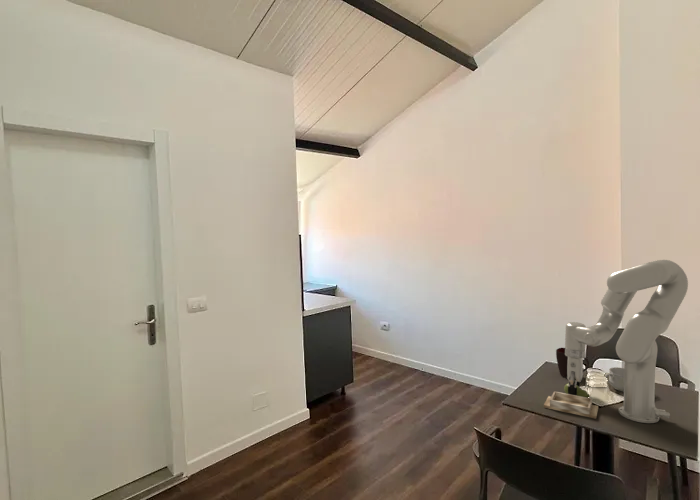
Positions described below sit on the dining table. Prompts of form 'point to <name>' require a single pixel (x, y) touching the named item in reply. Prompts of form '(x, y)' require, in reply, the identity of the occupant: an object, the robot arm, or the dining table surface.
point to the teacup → (616, 378)
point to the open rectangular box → (572, 404)
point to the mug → (564, 361)
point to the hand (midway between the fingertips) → (573, 391)
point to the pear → (579, 391)
